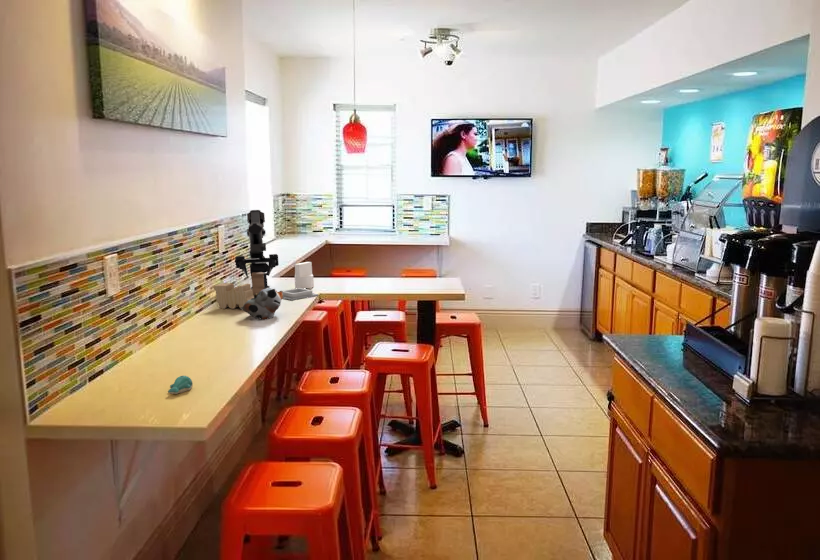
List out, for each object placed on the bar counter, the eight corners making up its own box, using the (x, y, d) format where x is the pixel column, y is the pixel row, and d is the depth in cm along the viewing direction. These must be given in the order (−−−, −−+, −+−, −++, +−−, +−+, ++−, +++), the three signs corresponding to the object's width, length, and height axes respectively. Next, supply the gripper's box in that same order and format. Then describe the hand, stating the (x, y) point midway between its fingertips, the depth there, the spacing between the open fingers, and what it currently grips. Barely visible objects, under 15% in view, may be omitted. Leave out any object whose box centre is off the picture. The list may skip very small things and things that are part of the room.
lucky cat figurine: (256, 312, 259) (272, 281, 258) (278, 325, 254) (294, 294, 253) (233, 309, 245) (249, 276, 244) (256, 323, 240) (272, 290, 239)
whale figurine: (198, 387, 169) (197, 374, 168) (182, 397, 162) (181, 383, 161) (178, 386, 170) (177, 373, 170) (162, 396, 163) (160, 381, 163)
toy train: (249, 310, 263) (247, 286, 262) (214, 308, 269) (213, 285, 267) (257, 307, 268) (255, 283, 267) (222, 305, 274) (221, 282, 272)
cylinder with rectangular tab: (304, 285, 317) (303, 261, 315) (317, 286, 312) (316, 262, 310) (291, 288, 310) (289, 263, 308) (304, 289, 305) (303, 265, 303)
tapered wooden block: (253, 300, 283) (251, 272, 280) (265, 299, 284) (263, 272, 281) (253, 302, 278) (251, 274, 276) (265, 302, 279) (263, 273, 277)
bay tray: (275, 296, 290) (274, 291, 290) (301, 292, 300) (301, 286, 299) (291, 300, 280) (291, 295, 280) (318, 295, 289) (317, 290, 289)
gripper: (233, 238, 283) (234, 266, 274) (276, 236, 287) (278, 263, 278) (236, 253, 292) (236, 281, 283) (277, 251, 296) (279, 278, 287)
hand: (257, 276), depth 283 cm, fingers open, 9 cm apart
